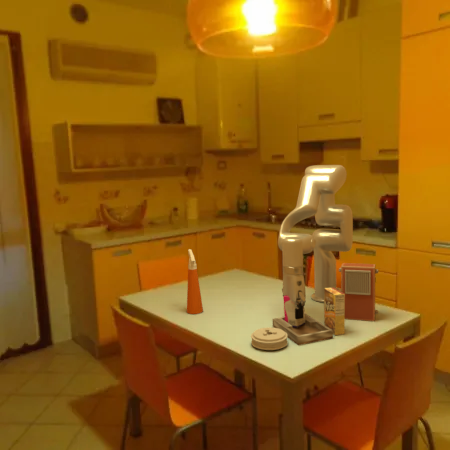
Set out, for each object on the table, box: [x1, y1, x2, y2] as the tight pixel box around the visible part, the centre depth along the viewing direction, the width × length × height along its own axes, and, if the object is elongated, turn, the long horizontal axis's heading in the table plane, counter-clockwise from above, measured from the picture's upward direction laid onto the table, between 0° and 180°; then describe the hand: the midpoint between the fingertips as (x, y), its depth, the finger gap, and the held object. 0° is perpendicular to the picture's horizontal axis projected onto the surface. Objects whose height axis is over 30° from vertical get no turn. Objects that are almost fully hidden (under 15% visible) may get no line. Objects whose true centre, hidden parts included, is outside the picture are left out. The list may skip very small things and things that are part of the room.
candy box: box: [323, 287, 346, 336], centre depth 174 cm, size 9×4×15 cm, turn 15°
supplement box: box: [282, 295, 306, 328], centre depth 180 cm, size 6×6×12 cm
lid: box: [250, 326, 289, 351], centre depth 165 cm, size 13×13×5 cm
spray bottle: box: [186, 248, 204, 315], centre depth 203 cm, size 7×11×26 cm, turn 14°
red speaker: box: [338, 262, 380, 322], centre depth 186 cm, size 21×7×15 cm
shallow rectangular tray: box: [272, 313, 334, 346], centre depth 175 cm, size 14×20×3 cm
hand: (293, 314), depth 180 cm, fingers closed on supplement box, 8 cm apart
